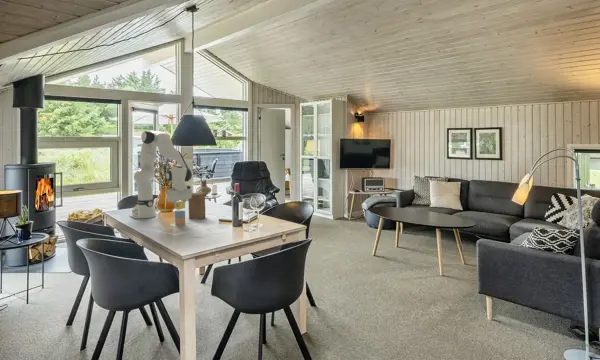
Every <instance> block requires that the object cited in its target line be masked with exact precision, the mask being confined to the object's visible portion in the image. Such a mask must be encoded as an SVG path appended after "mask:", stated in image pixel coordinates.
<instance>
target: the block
mask: <svg viewBox="0 0 600 360" xmlns="http://www.w3.org/2000/svg"><path fill="white" fill-rule="evenodd" d="M187 202H188V219H190V220H191V219H192V220H194V219H196V220H202V219H204V218H206V194H205V192H192V198H190V199H187Z"/></svg>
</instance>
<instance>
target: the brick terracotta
mask: <svg viewBox="0 0 600 360" xmlns="http://www.w3.org/2000/svg"><path fill="white" fill-rule="evenodd" d="M174 222H175V223H174V224H175V225H184V224H185V223H186V217H185V218H180V219H179V218H175V217H174Z"/></svg>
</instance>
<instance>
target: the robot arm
mask: <svg viewBox="0 0 600 360" xmlns="http://www.w3.org/2000/svg"><path fill="white" fill-rule="evenodd" d="M141 142H142V145H141V148H140V149H141V150H140V155H139V163H140V165H139V166H140V169H138V170H136V172H135V173H134V174H133V179H134V181H135V184H136V188H137V200H136V205H135V206H134V207H132V210H131V211H132V212H131V214H129V215H128V216H129V217H130V218H134V219H150V218H155V217H156V216H157V212H156V206H155V204H154V203H155V200H154V194H153V193H154V192H153V191H154V190H153V187H152V184H151V181H153V180H154V178H155V176H156V175H155V160H156V153H157V148H158V153H159V154H160V155H161V156H162V157H164V158H168V159H171V160H174V161H176V162H177V163H178V164H174V165H172V167H171V168H169V169H167V170H166V172H165V179H166V180H167V181H168V182H170V183H172V188H168V189H167V190H166V201H167V202H169V203H173V205H174V208H175V207H178V204H176V202H177V201H185V203H186V202H187V200H188V199H190V198H192V193H193V191H192V186H191V185H188V184H186V182H190V180H191V179H192V177H193V173H192V171H191V169H190V168H189V166H188V165H187V163H186V161H185V159H184V157H183V155H182V153H181V152H180V151H179V150H178V149H176V147H175V146H174V144H173V141H172V139H171V136H170V134H168V133H167V132H164V131H163V132H161V131H156V130H144V131H143V132H142V134H141Z"/></svg>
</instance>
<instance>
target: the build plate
mask: <svg viewBox="0 0 600 360" xmlns="http://www.w3.org/2000/svg"><path fill="white" fill-rule="evenodd" d="M190 225H192V223H190V222H185V224H184V225H175V223H171V224H169V226H170V227H171V226H172V227H177V228H182V227H184V226H185V227H186V226H190Z"/></svg>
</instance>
